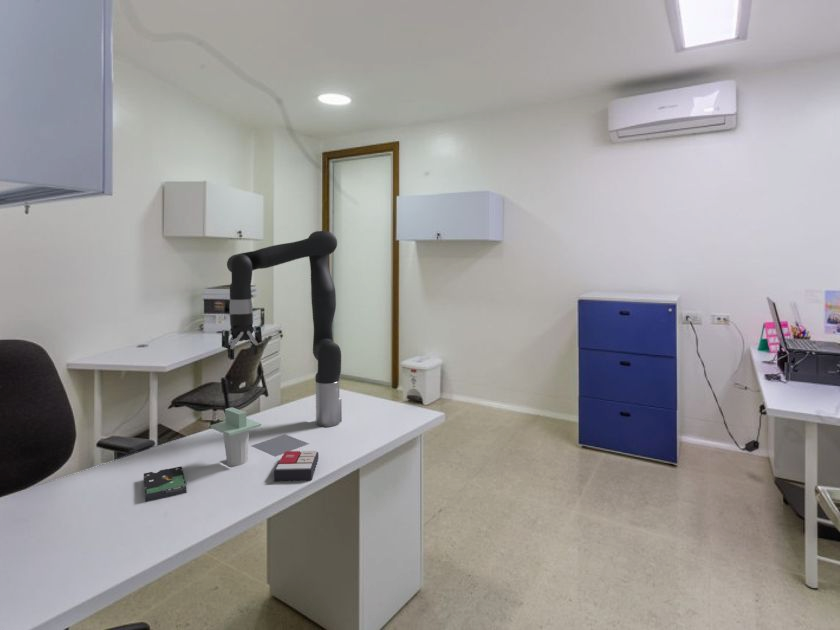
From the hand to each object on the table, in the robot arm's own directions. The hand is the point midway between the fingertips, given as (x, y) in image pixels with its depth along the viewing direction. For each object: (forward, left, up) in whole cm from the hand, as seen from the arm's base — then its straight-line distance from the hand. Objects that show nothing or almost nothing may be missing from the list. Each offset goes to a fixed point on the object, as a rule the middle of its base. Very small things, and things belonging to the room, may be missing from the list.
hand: (242, 357), depth 171 cm
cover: (+13, +16, -18) cm, 27 cm away
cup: (+13, +16, -30) cm, 37 cm away
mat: (-4, +15, -30) cm, 34 cm away
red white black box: (+4, +35, -31) cm, 47 cm away
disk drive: (+35, +14, -31) cm, 49 cm away
